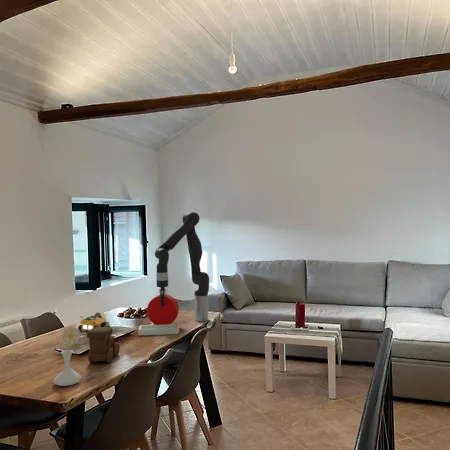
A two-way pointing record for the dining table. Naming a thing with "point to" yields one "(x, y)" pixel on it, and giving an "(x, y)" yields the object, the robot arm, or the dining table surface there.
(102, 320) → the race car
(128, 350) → the dining table surface
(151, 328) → the tray
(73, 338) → the flower in vase
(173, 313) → the toy clock
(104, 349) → the wooden toy train
